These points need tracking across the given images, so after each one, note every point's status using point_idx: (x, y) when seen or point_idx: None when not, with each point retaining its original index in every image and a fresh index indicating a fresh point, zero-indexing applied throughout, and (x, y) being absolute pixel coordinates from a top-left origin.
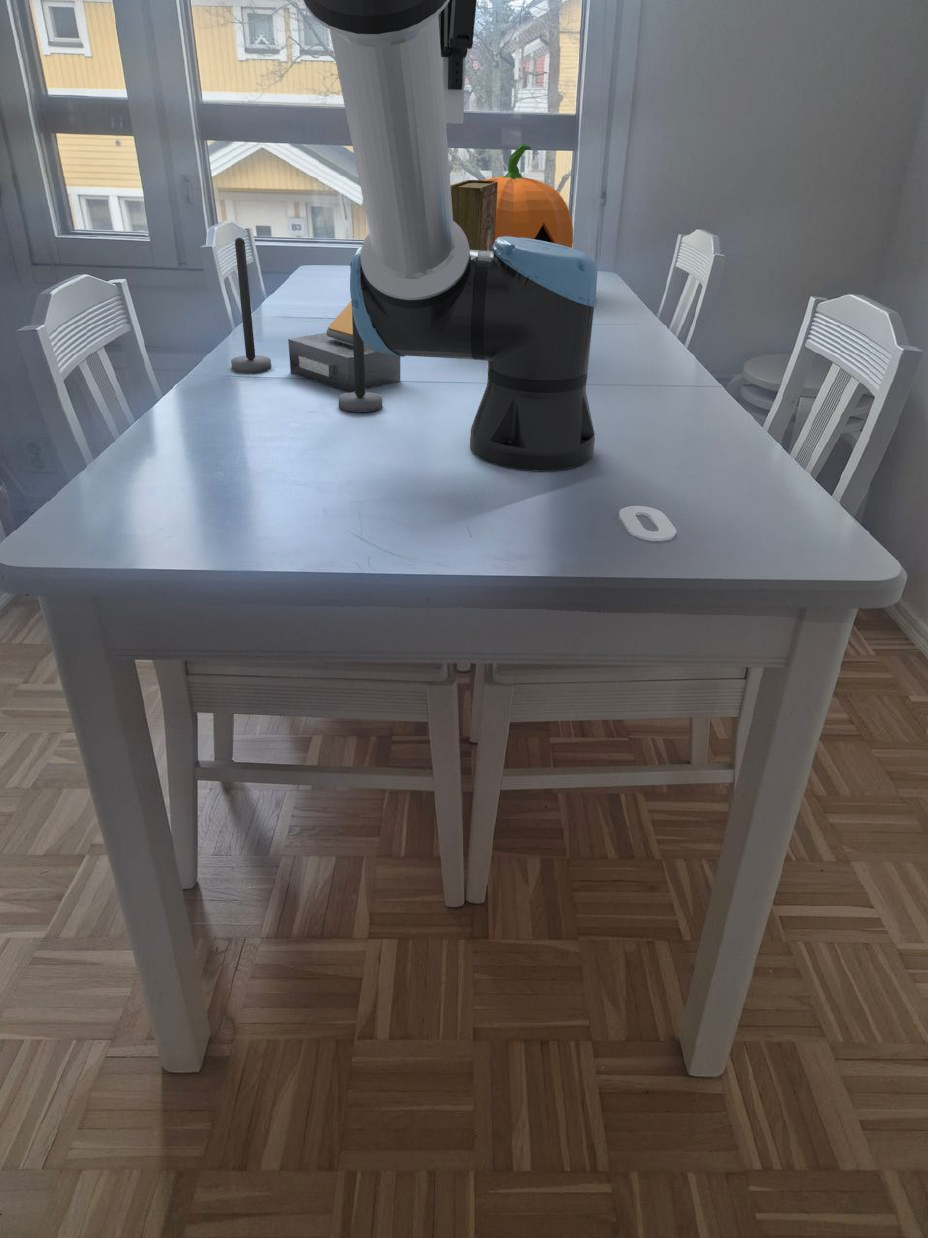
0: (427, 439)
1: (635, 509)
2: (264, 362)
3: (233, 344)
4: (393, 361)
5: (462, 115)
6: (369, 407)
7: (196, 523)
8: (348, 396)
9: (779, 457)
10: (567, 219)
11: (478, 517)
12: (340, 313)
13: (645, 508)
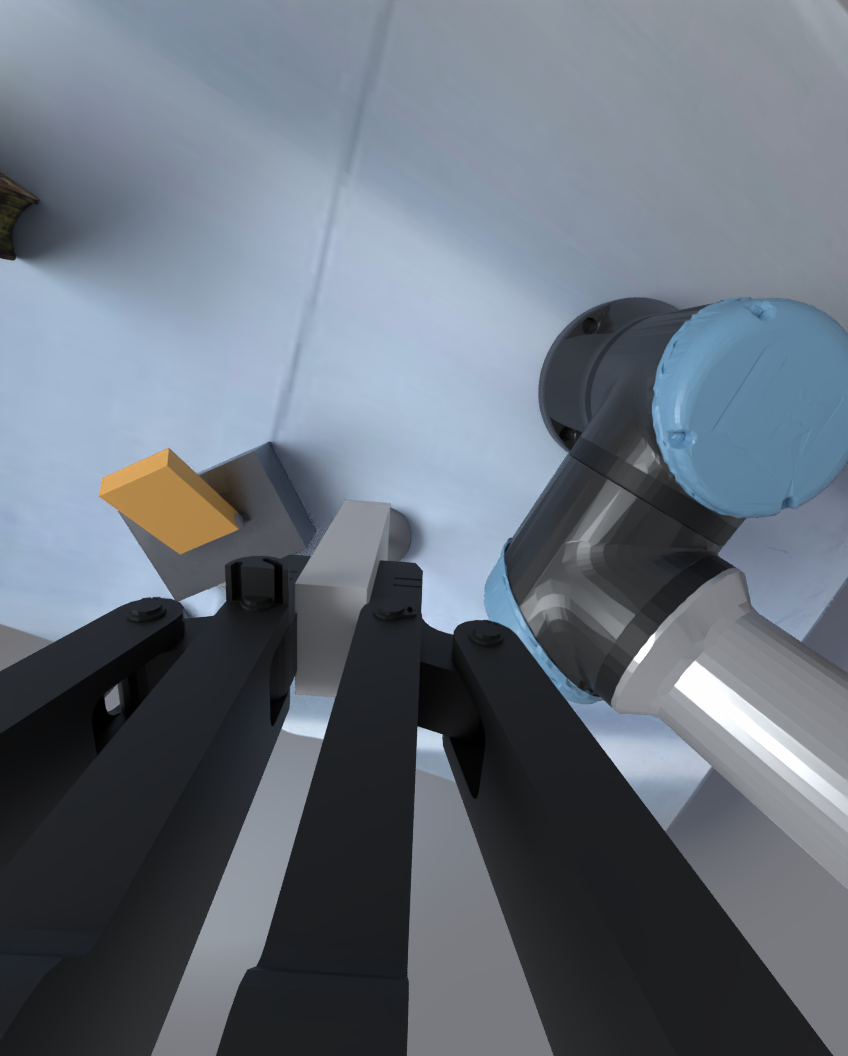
0: (531, 496)
1: None
2: None
3: (17, 624)
4: (267, 460)
5: (388, 514)
6: (410, 533)
7: (646, 739)
8: None
9: (815, 6)
10: None
11: (755, 529)
12: (156, 536)
13: None
